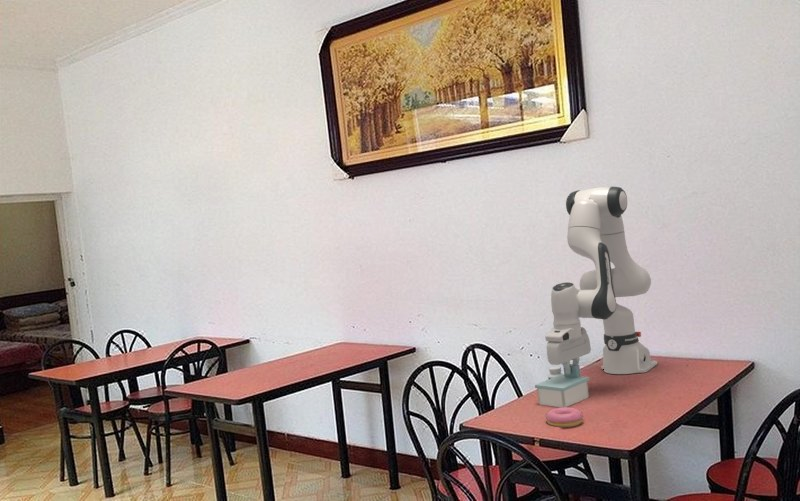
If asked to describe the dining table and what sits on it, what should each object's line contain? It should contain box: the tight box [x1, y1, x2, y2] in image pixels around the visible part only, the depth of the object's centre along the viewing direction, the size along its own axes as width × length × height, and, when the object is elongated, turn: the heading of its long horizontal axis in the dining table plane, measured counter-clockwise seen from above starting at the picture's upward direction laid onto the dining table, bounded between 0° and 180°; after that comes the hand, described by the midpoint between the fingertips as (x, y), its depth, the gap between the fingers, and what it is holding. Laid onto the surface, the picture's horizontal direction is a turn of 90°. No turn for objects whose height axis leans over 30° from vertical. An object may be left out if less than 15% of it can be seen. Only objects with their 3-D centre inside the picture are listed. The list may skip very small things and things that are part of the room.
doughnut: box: [545, 406, 584, 429], centre depth 212 cm, size 11×11×4 cm
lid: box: [534, 363, 590, 391], centre depth 234 cm, size 15×11×5 cm
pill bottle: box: [547, 366, 563, 380], centre depth 247 cm, size 5×5×9 cm
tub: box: [536, 381, 590, 408], centre depth 234 cm, size 14×10×6 cm
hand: (572, 372), depth 238 cm, fingers closed on lid
